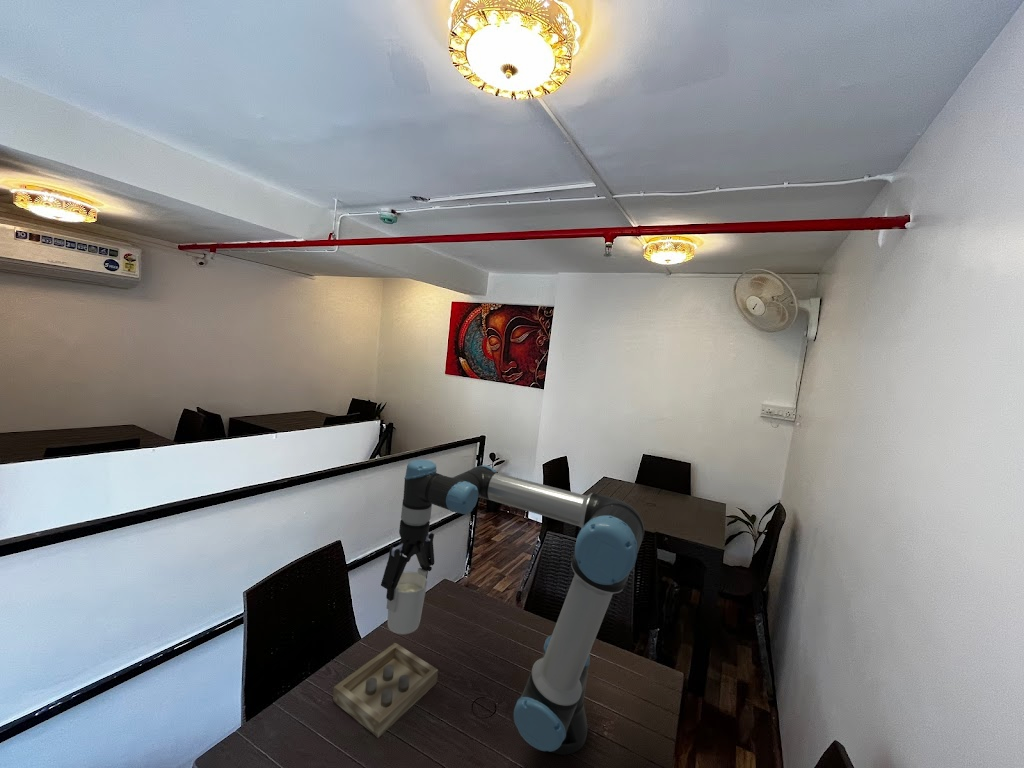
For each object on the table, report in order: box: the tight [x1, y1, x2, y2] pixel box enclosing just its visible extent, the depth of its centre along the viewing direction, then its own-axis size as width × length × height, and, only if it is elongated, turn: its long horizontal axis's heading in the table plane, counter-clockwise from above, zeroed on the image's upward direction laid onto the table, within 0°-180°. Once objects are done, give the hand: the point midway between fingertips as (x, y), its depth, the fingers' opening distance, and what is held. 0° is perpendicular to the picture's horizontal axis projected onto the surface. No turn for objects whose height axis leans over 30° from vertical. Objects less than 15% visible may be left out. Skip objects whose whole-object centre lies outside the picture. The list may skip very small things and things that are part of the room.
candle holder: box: [387, 570, 428, 635], centre depth 111 cm, size 10×10×12 cm
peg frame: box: [332, 642, 439, 739], centre depth 114 cm, size 17×21×4 cm
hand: (406, 600), depth 111 cm, fingers closed on candle holder, 9 cm apart
